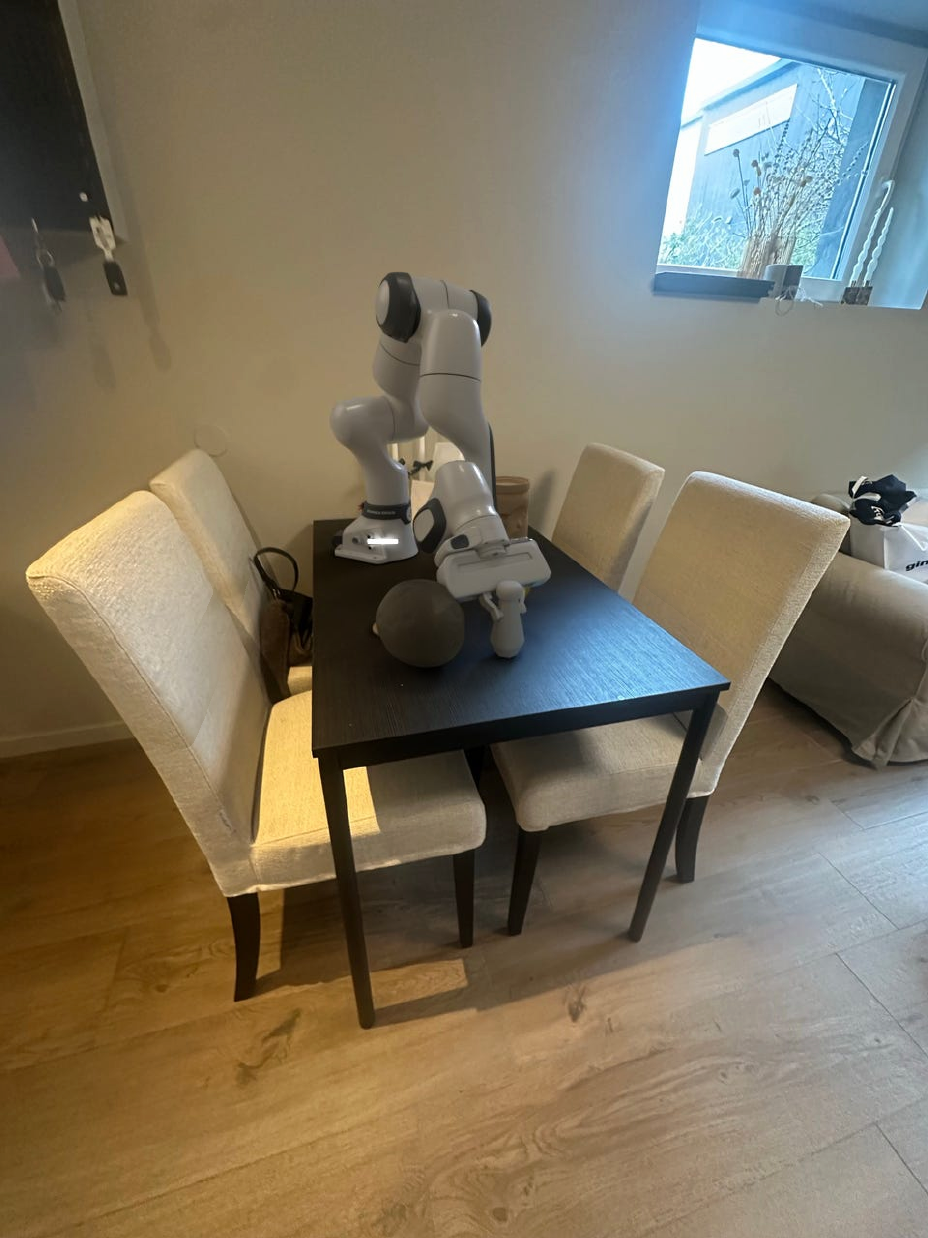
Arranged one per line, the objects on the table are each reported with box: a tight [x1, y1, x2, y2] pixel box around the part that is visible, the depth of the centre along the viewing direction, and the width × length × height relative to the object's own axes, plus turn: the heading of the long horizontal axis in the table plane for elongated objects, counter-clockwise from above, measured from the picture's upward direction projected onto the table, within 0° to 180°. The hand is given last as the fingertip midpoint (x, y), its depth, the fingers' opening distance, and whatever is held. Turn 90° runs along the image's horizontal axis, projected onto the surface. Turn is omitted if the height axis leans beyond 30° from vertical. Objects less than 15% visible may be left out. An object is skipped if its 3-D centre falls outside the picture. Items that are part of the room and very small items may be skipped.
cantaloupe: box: [375, 578, 466, 669], centre depth 81 cm, size 14×14×15 cm
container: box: [496, 475, 531, 539], centre depth 137 cm, size 13×13×18 cm
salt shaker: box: [489, 581, 525, 659], centre depth 84 cm, size 6×6×13 cm
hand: (510, 616), depth 83 cm, fingers closed on salt shaker, 3 cm apart
